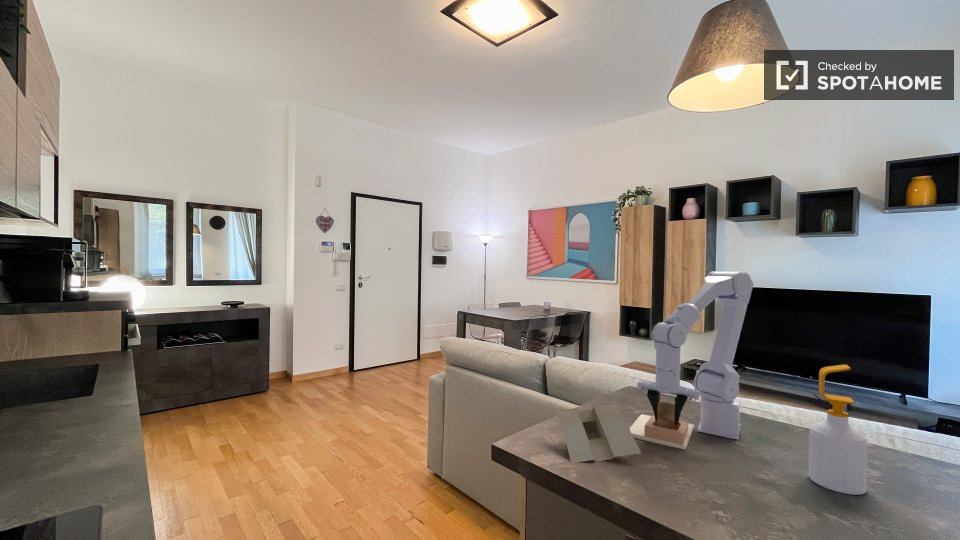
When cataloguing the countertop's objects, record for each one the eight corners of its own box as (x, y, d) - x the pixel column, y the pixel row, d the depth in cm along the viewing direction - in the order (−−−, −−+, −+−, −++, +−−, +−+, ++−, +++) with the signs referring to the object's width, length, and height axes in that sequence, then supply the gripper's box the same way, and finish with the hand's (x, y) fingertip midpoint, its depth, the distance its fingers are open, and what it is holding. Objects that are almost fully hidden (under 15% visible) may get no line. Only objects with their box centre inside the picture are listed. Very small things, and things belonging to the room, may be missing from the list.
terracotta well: (688, 433, 107) (688, 422, 107) (683, 445, 100) (683, 433, 100) (651, 425, 112) (651, 415, 112) (644, 436, 105) (644, 425, 105)
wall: (638, 469, 98) (616, 412, 109) (643, 453, 92) (620, 394, 103) (569, 479, 98) (555, 420, 109) (571, 463, 92) (555, 403, 103)
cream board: (694, 428, 114) (694, 424, 114) (685, 449, 100) (685, 445, 100) (641, 417, 121) (641, 414, 121) (626, 436, 107) (626, 432, 107)
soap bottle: (872, 501, 78) (874, 372, 78) (811, 487, 83) (813, 365, 83) (860, 481, 86) (862, 364, 86) (805, 469, 91) (807, 358, 91)
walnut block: (676, 428, 107) (676, 402, 107) (674, 433, 103) (674, 405, 103) (660, 425, 109) (660, 399, 109) (657, 430, 106) (657, 402, 106)
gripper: (634, 368, 107) (634, 420, 107) (697, 376, 99) (696, 433, 99) (641, 363, 113) (640, 412, 113) (700, 371, 105) (699, 424, 105)
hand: (666, 421), depth 106 cm, fingers closed on walnut block, 4 cm apart
